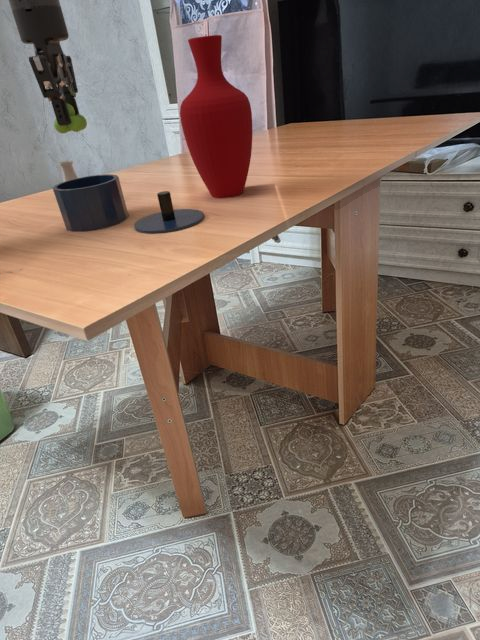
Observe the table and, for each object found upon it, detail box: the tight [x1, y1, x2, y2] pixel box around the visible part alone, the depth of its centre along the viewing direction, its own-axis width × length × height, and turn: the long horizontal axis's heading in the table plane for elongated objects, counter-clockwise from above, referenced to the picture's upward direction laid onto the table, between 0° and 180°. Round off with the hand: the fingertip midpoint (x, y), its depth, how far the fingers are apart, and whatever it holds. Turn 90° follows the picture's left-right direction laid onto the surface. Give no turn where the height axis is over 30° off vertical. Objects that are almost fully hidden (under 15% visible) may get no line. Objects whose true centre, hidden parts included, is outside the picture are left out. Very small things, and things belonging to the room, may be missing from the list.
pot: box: [52, 173, 129, 233], centre depth 94 cm, size 13×13×8 cm
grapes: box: [53, 96, 88, 134], centre depth 83 cm, size 5×5×6 cm
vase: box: [179, 34, 253, 199], centre depth 97 cm, size 15×15×30 cm
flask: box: [57, 160, 79, 182], centre depth 111 cm, size 7×7×10 cm
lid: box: [133, 190, 205, 234], centre depth 89 cm, size 14×14×6 cm
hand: (70, 122), depth 84 cm, fingers closed on grapes, 5 cm apart
